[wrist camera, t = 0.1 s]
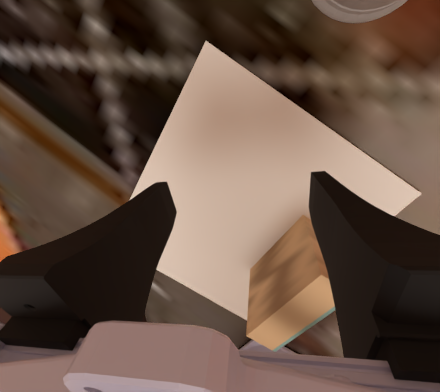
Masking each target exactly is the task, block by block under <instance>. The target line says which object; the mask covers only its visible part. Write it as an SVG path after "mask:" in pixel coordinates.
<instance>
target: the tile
mask: <svg viewBox="0 0 440 392" xmlns="http://www.w3.org/2000/svg"><path fill="white" fill-rule="evenodd" d="M333 311H335V305H334V300H333V295H332V290H331V286H330V281H329V277H328V272H327V269H326V265H325V262H324V259H323V256H322V253H321V250H320V247H319V244H318V241H317V238H316V235H315V232H314V229H313V226H312V223H311V220H310V219H309V218H307V217H306V216H304V215H302V216H301V217H300V218H299V219H298V221H297V222H296V223H295V224H294V225H293V226H292V227H291V228H290V229H289V230H288V231H287V232H286V233H285V234H284V235H283V236H282V237H281V238H280V239H279V240H278V241H277V242H276V243H275V244H274V245H273V246H272V247H271V248H270V249H269V250H268V251H267V252H266V253H265V254H264V255H263V256H262V258H261V259H260V260H259V261H258V262H257V263H256V264H255V265H254V266H253V267H252V268H251V269H250V280H249V297H248V314H247V331H246V336H247V337H249V338H250V339H252V340H254V341H256V342H258V343H259V344H261V345H263V346H265V347H267V348H269V349H270V350H272V351H274V352H276V351H277V350H279V349H280V348H282V347H283V346H284V345H286V344H287V343H289V342H290V341H292V340H293V339H295V338H296V337H297V336H299V335H300V334H302V333H303V332H305V331H306V330H307V329H309V328H310V327H312V326H313V325H315V324H316V323H317V322H319V321H320V320H322V319H323V318H325V317H326V316H327V315H329V314H330V313H332V312H333Z"/></svg>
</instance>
